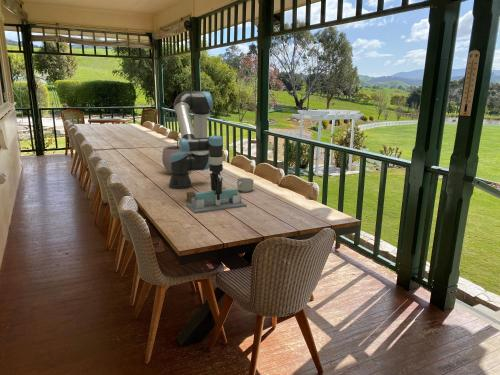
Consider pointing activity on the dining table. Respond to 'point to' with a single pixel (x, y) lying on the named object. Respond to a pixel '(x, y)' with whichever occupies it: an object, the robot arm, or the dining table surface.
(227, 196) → the slat
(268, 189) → the dining table surface
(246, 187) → the teacup
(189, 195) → the block
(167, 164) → the plant pot
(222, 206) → the cap board
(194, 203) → the end caps
